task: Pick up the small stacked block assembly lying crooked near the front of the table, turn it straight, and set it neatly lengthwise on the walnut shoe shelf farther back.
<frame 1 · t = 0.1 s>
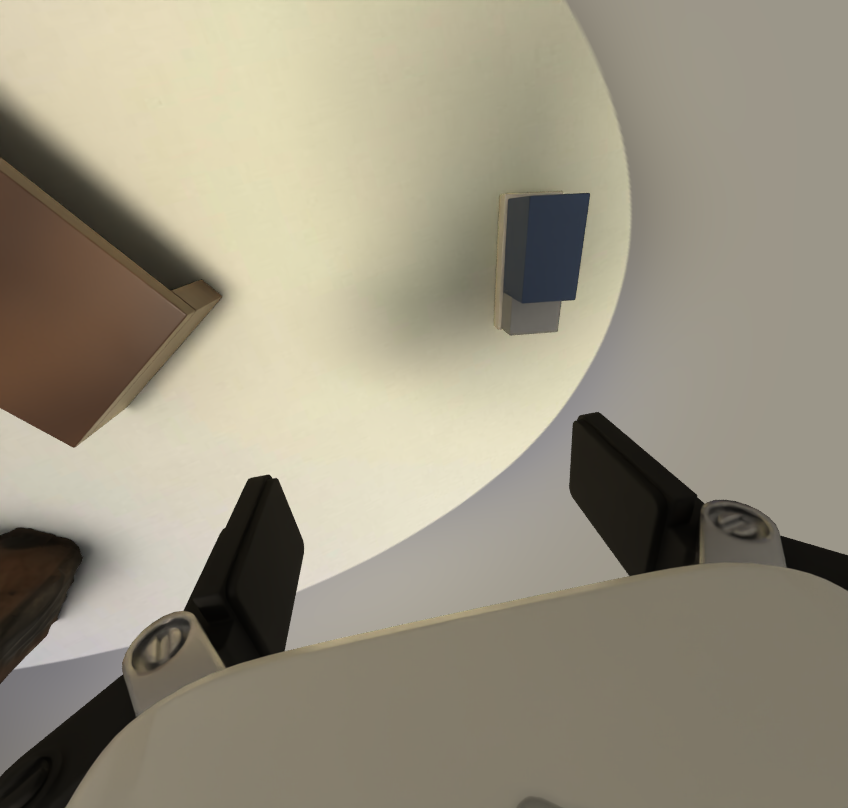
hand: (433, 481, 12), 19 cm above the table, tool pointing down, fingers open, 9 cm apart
stacked block assembly: (522, 263, 27), on the table
shoe shelf: (36, 257, 23), on the table
owl: (15, 574, 34), on the table
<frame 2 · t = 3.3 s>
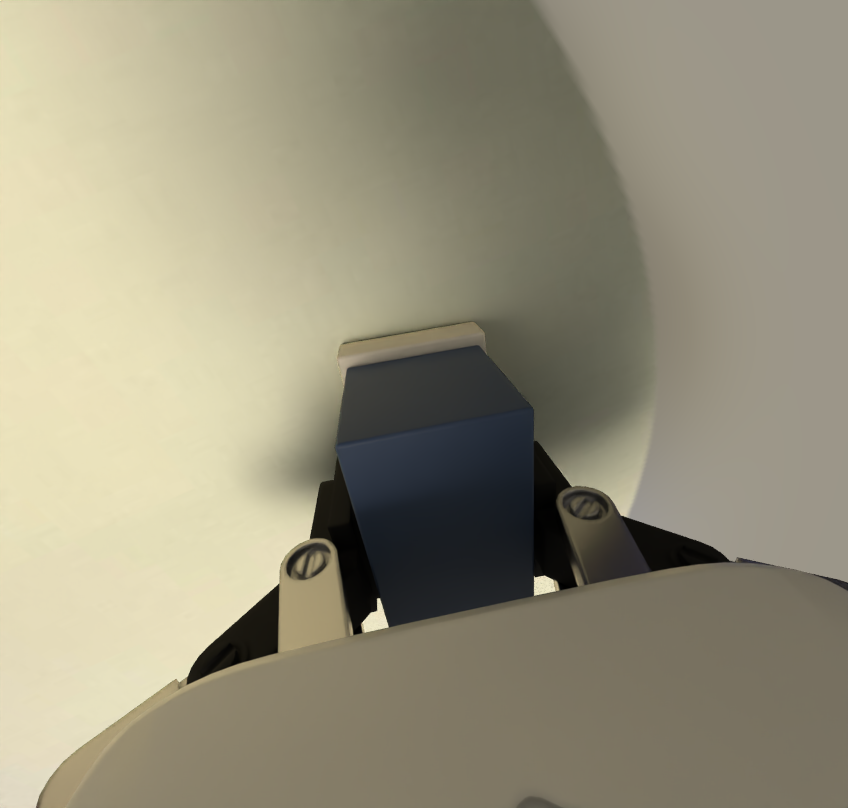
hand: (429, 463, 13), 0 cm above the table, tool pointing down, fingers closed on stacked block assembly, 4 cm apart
stacked block assembly: (427, 457, 13), on the table, touching gripper
when the fingers open (6 cm above the table, at t = 10.0 s): stacked block assembly stays where it is, resting on shoe shelf.
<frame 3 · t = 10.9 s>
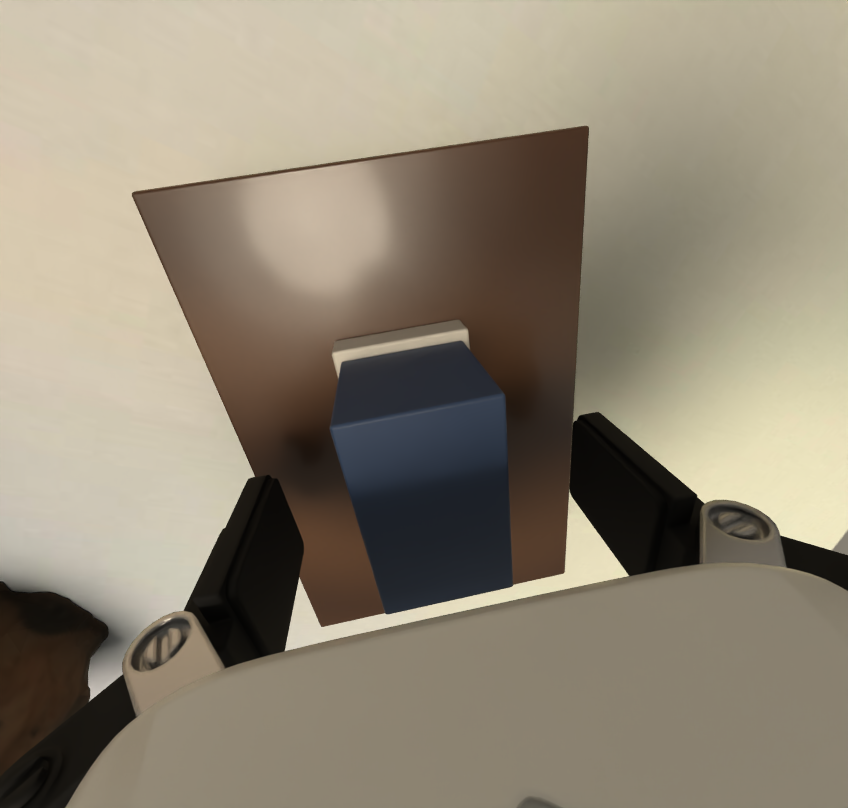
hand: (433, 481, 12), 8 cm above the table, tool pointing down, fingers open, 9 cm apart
stacked block assembly: (418, 447, 14), point 6 cm above the table, touching shoe shelf
shoe shelf: (404, 385, 19), on the table
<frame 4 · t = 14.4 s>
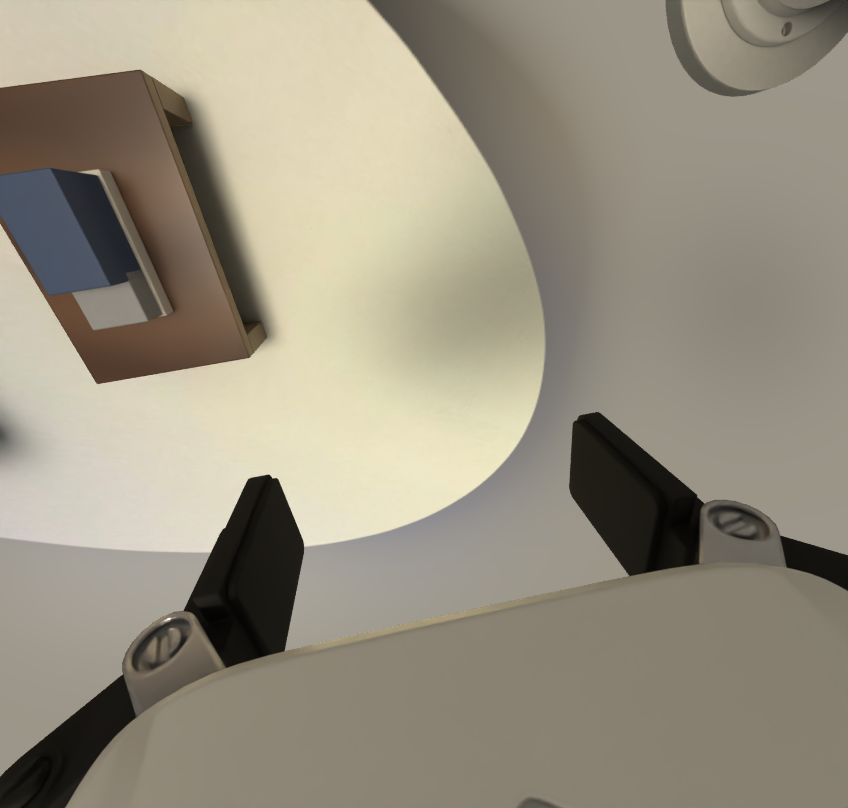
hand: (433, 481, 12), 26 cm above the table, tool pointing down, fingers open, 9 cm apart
stacked block assembly: (115, 251, 25), point 6 cm above the table, touching shoe shelf
shoe shelf: (156, 245, 30), on the table
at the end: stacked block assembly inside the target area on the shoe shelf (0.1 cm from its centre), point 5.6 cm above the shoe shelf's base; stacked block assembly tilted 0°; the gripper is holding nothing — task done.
